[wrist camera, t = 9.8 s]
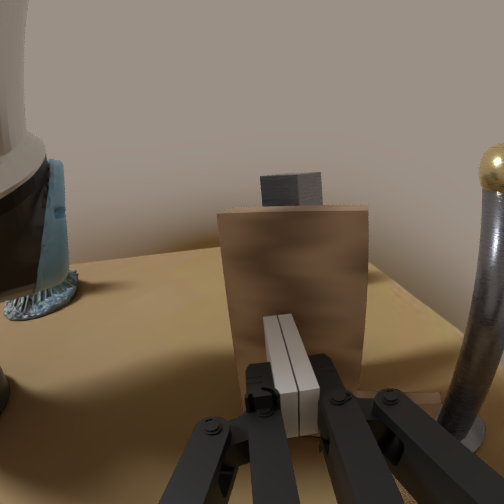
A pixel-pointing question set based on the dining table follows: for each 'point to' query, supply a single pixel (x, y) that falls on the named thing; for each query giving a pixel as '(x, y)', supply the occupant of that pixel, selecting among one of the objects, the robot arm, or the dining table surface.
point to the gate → (301, 284)
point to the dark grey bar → (291, 189)
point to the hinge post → (481, 315)
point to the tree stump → (42, 300)
